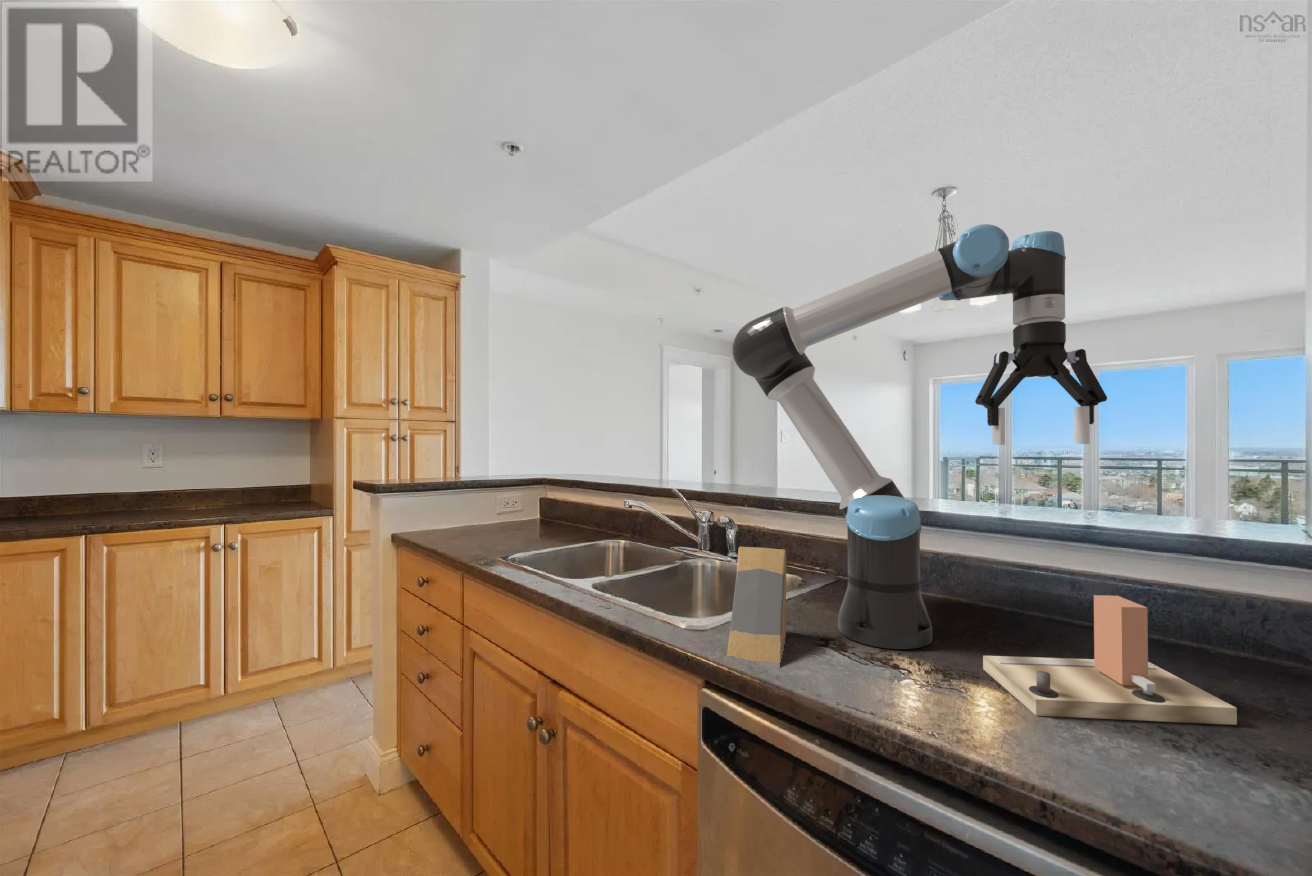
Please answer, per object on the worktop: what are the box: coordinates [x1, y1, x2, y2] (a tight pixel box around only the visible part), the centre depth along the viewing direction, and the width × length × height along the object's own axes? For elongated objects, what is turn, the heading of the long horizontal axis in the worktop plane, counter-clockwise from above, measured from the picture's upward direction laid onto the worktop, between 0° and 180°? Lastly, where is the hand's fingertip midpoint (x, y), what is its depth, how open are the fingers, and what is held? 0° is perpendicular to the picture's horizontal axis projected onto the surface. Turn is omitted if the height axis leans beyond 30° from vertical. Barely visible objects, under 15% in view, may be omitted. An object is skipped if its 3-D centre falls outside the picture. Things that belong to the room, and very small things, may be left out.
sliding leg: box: [1093, 594, 1156, 695], centre depth 68 cm, size 3×8×10 cm, turn 173°
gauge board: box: [982, 655, 1238, 726], centre depth 70 cm, size 22×13×4 cm, turn 83°
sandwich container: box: [726, 546, 787, 663], centre depth 87 cm, size 9×15×15 cm, turn 163°
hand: (1040, 444), depth 93 cm, fingers open, 13 cm apart
